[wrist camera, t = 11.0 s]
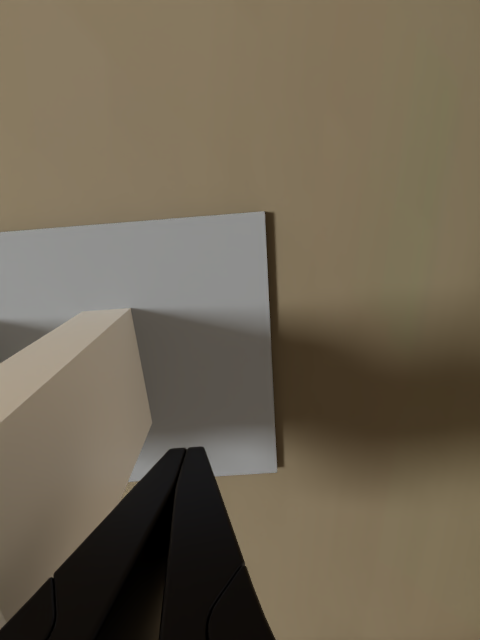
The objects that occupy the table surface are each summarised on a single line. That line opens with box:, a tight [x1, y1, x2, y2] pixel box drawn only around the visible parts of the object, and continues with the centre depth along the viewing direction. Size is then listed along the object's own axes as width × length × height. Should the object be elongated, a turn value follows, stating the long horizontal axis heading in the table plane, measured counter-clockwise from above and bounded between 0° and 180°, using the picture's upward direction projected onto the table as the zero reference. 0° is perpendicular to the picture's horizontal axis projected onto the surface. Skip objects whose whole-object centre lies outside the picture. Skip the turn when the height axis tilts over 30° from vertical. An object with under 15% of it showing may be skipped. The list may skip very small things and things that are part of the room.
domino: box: [0, 308, 152, 629], centre depth 9 cm, size 2×5×8 cm, turn 4°
